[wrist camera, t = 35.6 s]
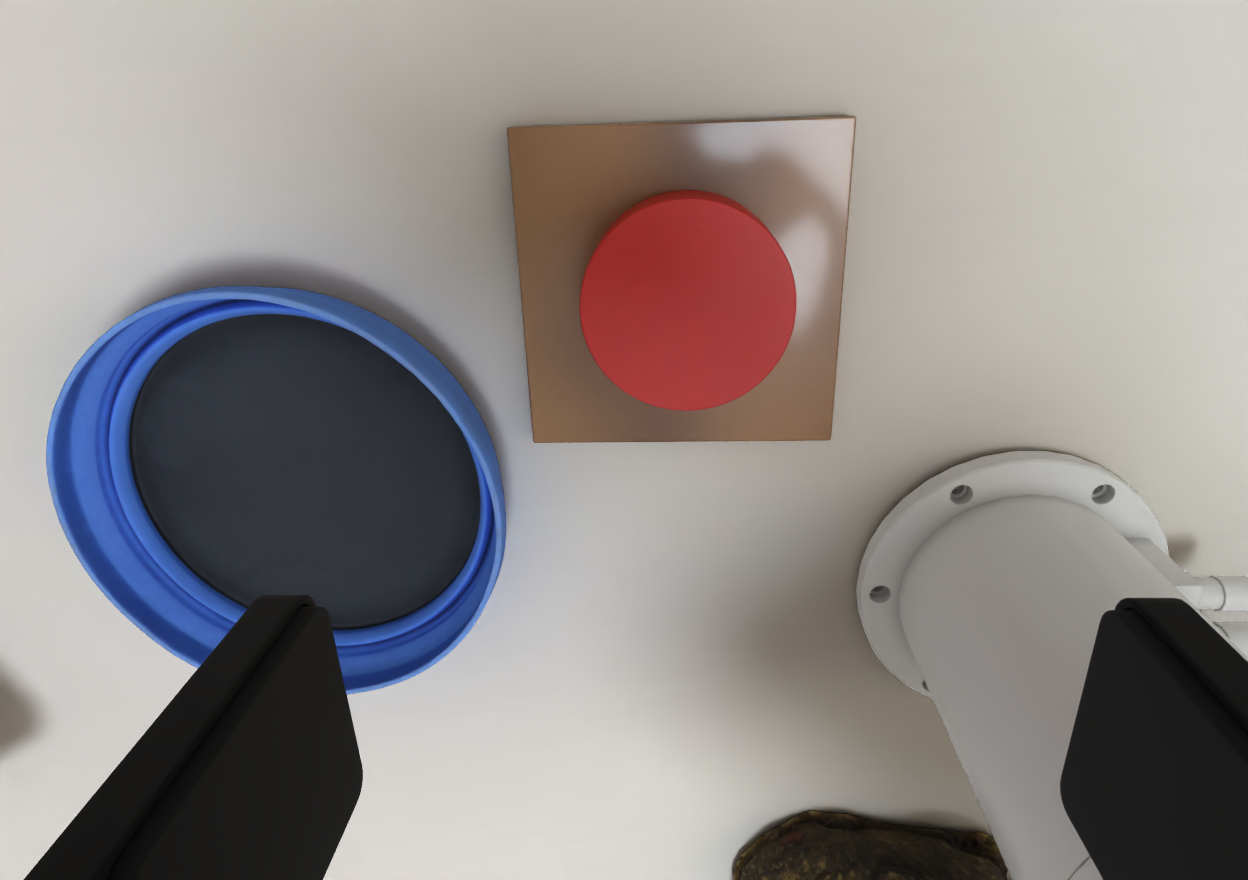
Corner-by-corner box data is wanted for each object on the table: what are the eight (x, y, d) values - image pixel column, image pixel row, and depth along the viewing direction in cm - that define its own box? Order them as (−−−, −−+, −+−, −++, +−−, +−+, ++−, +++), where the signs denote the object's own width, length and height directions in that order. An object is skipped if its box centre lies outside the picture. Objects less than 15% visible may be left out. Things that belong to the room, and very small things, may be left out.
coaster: (851, 115, 27) (856, 115, 27) (827, 433, 32) (831, 441, 31) (510, 127, 28) (506, 127, 27) (536, 435, 33) (533, 443, 32)
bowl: (37, 492, 35) (-27, 532, 32) (232, 172, 29) (178, 181, 26) (370, 709, 39) (343, 764, 36) (602, 467, 33) (595, 507, 30)
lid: (589, 389, 31) (582, 412, 29) (578, 192, 28) (570, 200, 26) (782, 387, 31) (791, 410, 28) (792, 186, 28) (803, 194, 25)
